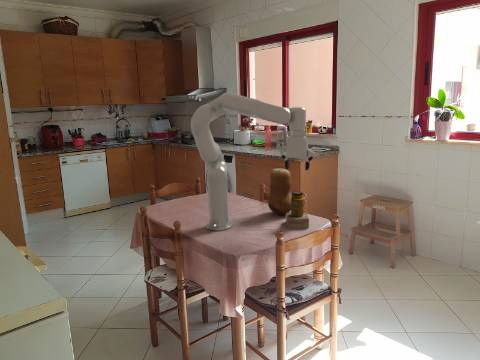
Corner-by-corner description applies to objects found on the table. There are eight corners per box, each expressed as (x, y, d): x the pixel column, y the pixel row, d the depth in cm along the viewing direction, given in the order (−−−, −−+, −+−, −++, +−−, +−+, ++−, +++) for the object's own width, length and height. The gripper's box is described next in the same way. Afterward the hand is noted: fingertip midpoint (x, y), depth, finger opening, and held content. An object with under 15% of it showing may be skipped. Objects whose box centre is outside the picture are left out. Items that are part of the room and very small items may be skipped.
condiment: (307, 215, 187) (307, 192, 184) (296, 219, 181) (296, 195, 179) (295, 212, 192) (295, 189, 190) (284, 216, 186) (284, 193, 184)
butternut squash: (296, 211, 209) (296, 167, 203) (288, 219, 197) (288, 171, 191) (273, 209, 215) (272, 165, 209) (263, 215, 203) (263, 170, 198)
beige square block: (308, 228, 183) (308, 218, 182) (288, 229, 183) (288, 219, 182) (305, 221, 193) (305, 212, 192) (286, 222, 193) (286, 213, 192)
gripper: (277, 134, 179) (277, 169, 183) (313, 135, 172) (312, 171, 176) (282, 132, 186) (282, 166, 190) (317, 133, 178) (316, 169, 182)
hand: (297, 169), depth 183 cm, fingers open, 9 cm apart
